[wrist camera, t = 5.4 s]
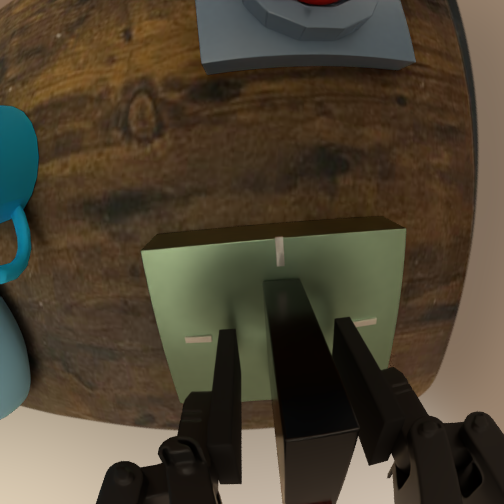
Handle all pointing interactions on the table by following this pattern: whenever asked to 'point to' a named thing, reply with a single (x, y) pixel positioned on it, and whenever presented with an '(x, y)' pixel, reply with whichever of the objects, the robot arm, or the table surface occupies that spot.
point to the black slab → (306, 399)
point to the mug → (16, 182)
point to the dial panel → (251, 290)
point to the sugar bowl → (12, 363)
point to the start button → (319, 2)
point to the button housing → (302, 34)
